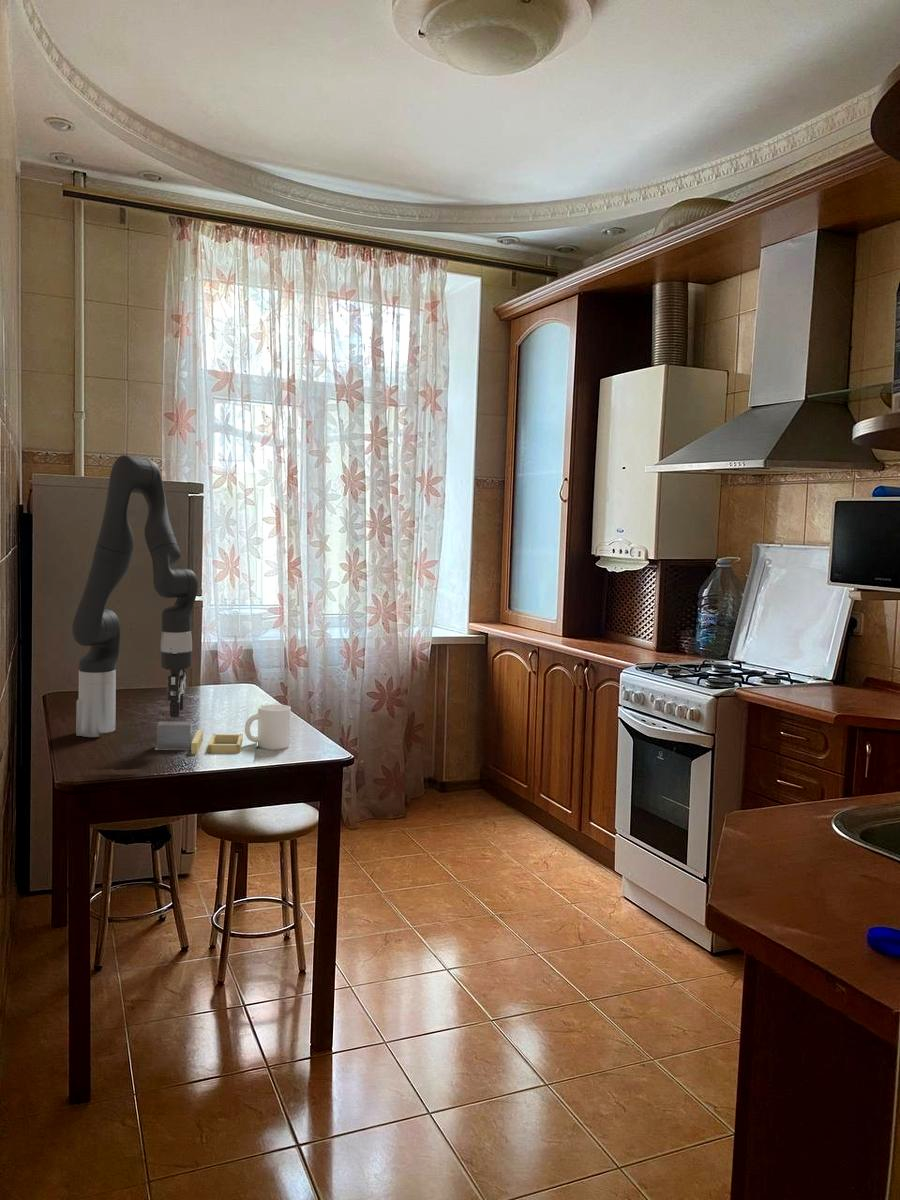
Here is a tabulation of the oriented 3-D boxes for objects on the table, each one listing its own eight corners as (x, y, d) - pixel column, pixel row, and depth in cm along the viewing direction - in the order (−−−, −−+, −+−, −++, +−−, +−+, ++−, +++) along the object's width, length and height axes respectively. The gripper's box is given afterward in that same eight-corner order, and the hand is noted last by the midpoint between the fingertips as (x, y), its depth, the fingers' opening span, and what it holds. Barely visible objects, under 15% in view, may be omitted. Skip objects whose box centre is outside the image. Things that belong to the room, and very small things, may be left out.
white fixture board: (151, 758, 226) (151, 743, 226) (160, 744, 240) (160, 730, 240) (244, 758, 230) (244, 743, 230) (247, 744, 244) (247, 730, 243)
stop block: (156, 748, 231) (157, 725, 231) (159, 745, 235) (159, 721, 235) (190, 748, 232) (190, 725, 232) (192, 745, 236) (192, 721, 236)
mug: (249, 753, 235) (250, 712, 234) (239, 745, 242) (239, 706, 241) (294, 748, 241) (295, 709, 240) (283, 741, 248) (283, 703, 247)
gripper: (164, 645, 238) (165, 708, 240) (156, 653, 224) (157, 719, 226) (195, 645, 240) (195, 707, 241) (189, 653, 226) (189, 719, 227)
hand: (176, 713), depth 233 cm, fingers open, 8 cm apart
